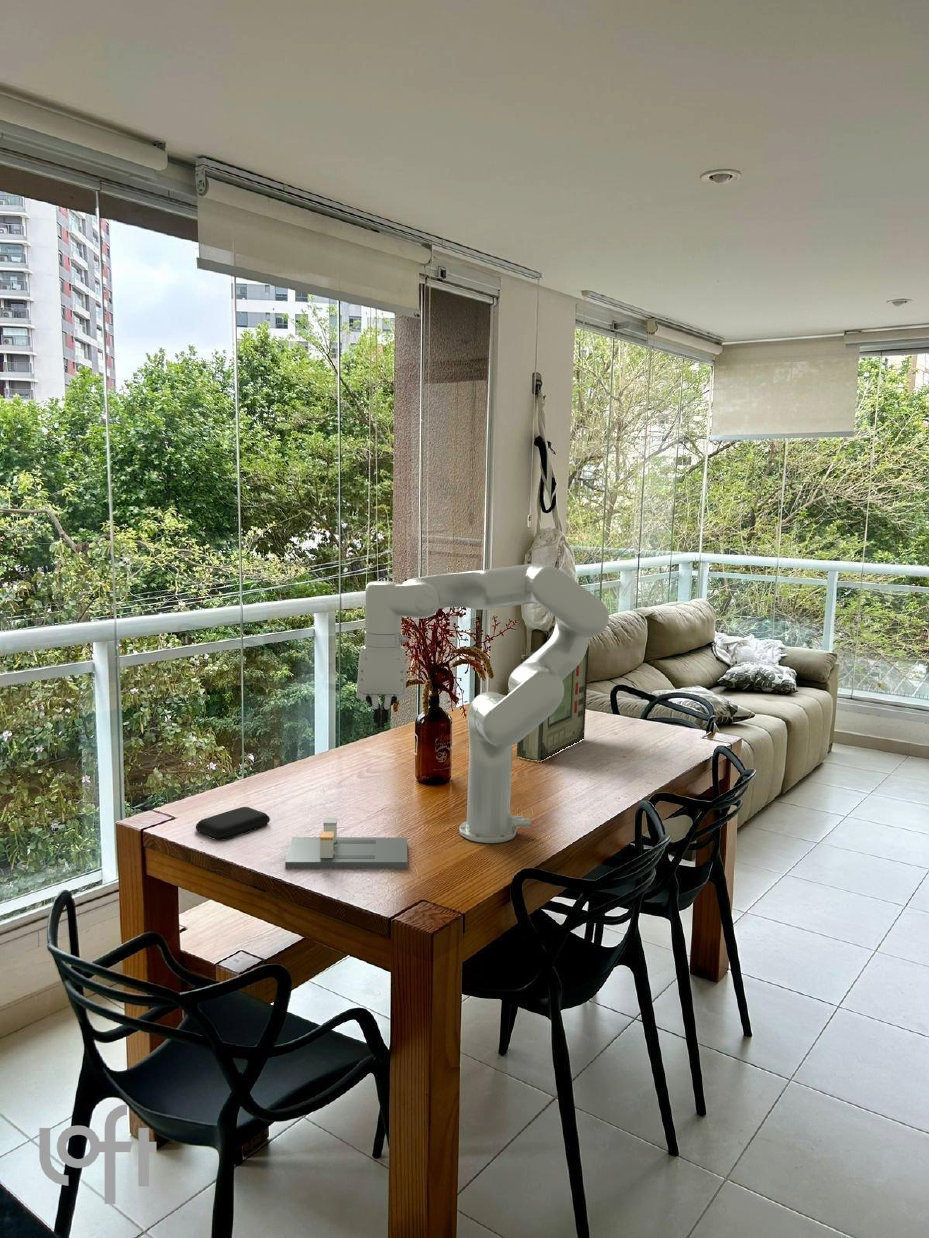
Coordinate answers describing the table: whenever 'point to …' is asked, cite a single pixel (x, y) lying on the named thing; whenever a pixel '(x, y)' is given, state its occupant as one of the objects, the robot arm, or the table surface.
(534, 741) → the control panel
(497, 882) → the table surface
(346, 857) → the grey slotted panel
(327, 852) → the block
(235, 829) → the carrying case or bag
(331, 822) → the breaker
